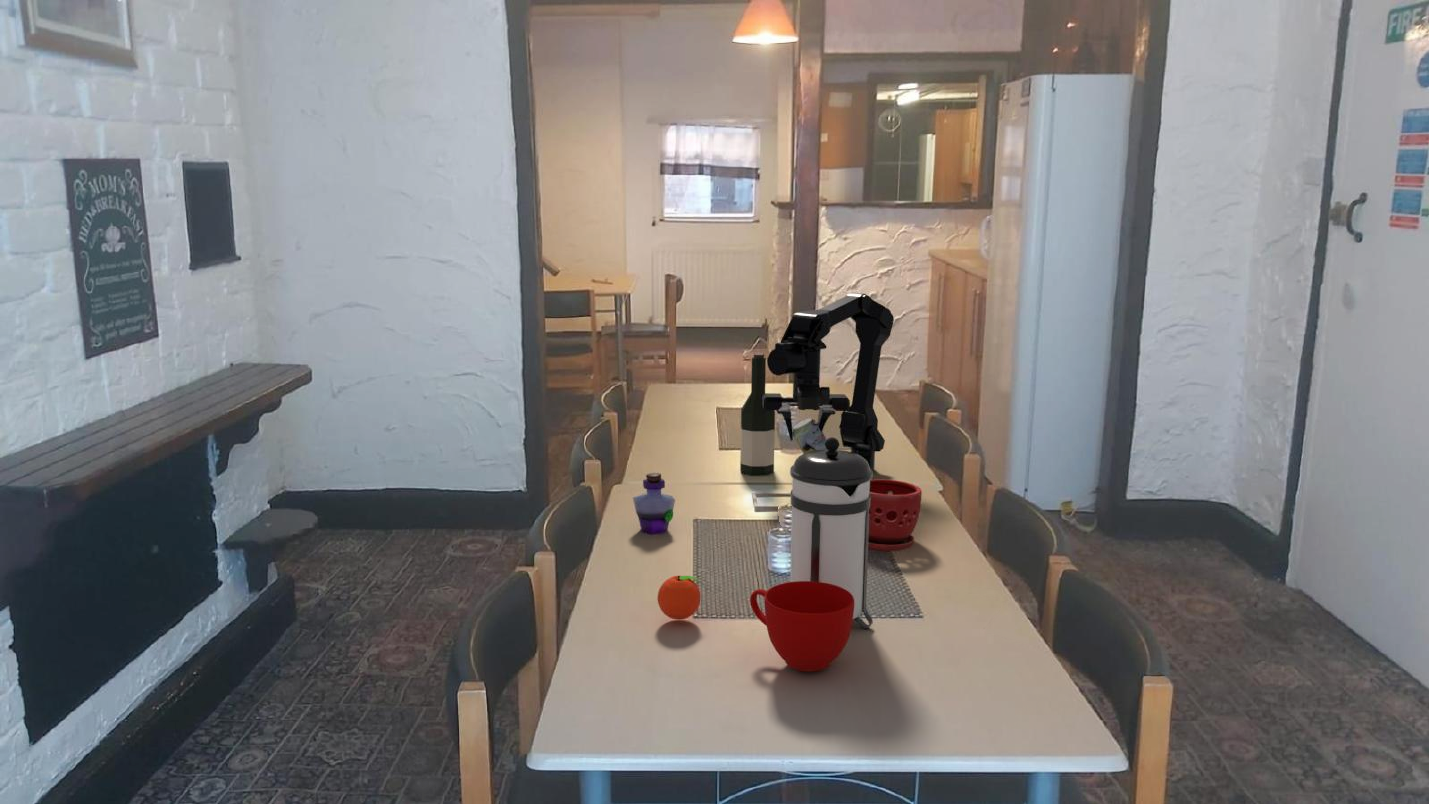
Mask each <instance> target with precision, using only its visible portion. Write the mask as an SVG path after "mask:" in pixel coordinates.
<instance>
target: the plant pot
mask: <svg viewBox="0 0 1429 804" xmlns="http://www.w3.org/2000/svg"><path fill="white" fill-rule="evenodd" d="M869 492H870V494H871V503H870V508H869V538H868V550H869V549H870V550H876V551H887V552H888V551H889V552H890V551H892V552H893V551H900V550H904V549H907V548H910V547H911V546H912V545H913V544H914V542H915V538H914V536H913V535H912V534H913V532H914V530H915V528H916V526H917V523H918V519H919V516H920V513H921V512H920V510H921V505H922V494H923V493H922V492H923V491H922V489H921V488H920V487H919V486H917V485H915V484H913V483H909V482H906V481H902V480H897V479H896V480H894V479H885V478H884V479H881V478H879V479H877V478H874V479H873V478H872V479H871V480H870V489H869ZM889 492H890V493H893V494H892V495H888V493H889Z"/></svg>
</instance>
